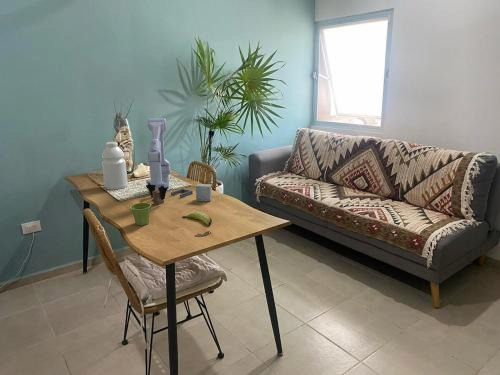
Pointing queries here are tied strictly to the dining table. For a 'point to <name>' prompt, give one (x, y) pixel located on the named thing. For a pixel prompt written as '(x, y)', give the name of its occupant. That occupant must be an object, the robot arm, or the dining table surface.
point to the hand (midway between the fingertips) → (157, 198)
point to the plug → (157, 198)
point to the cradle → (185, 192)
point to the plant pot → (141, 213)
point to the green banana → (202, 217)
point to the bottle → (114, 167)
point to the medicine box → (203, 192)
